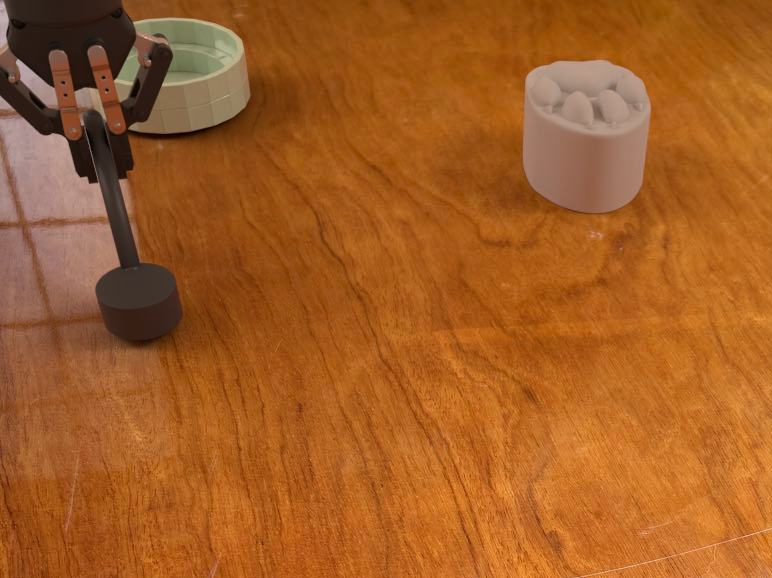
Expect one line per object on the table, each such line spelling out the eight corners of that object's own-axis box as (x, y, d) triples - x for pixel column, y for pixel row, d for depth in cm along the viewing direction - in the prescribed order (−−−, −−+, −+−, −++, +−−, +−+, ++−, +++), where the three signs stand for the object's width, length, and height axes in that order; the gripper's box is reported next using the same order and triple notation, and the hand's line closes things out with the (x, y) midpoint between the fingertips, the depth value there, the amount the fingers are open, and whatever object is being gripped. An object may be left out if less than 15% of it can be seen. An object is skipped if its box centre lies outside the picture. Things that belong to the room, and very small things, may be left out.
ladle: (189, 331, 85) (161, 211, 77) (109, 347, 83) (74, 225, 76) (155, 216, 95) (128, 100, 87) (83, 228, 93) (49, 111, 86)
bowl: (162, 156, 103) (151, 102, 100) (63, 103, 109) (49, 50, 105) (282, 101, 111) (275, 49, 108) (183, 55, 117) (174, 4, 113)
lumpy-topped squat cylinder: (625, 136, 109) (634, 45, 103) (656, 210, 101) (669, 115, 94) (515, 141, 108) (518, 48, 102) (538, 216, 99) (543, 119, 93)
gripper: (145, -95, 80) (189, 140, 93) (-69, -78, 76) (7, 165, 89) (163, -55, 76) (207, 187, 88) (-64, -34, 72) (16, 216, 84)
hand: (106, 175), depth 89 cm, fingers closed
